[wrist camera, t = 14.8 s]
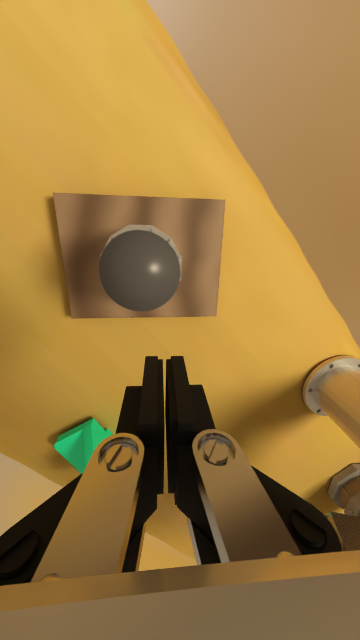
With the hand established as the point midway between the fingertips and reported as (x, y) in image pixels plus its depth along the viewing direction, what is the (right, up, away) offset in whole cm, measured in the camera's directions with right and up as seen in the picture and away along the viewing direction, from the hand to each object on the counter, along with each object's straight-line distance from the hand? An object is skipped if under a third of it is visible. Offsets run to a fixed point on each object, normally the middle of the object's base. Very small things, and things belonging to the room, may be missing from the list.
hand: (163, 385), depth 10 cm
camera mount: (-14, -20, +31) cm, 39 cm away
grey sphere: (-3, +9, +16) cm, 19 cm away
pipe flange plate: (-4, +11, +21) cm, 24 cm away
